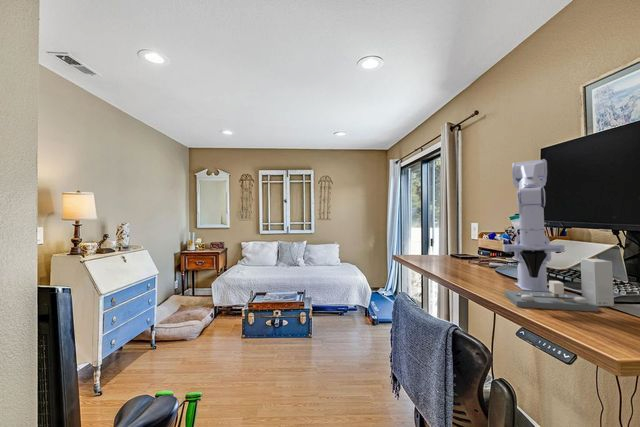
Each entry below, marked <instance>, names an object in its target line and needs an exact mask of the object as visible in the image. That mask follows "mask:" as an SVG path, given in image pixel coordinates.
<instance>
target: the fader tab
mask: <svg viewBox="0 0 640 427" xmlns="http://www.w3.org/2000/svg"><path fill="white" fill-rule="evenodd" d="M564 287H565V284H564V283H563V282H562V281H559V280H548V288H549V291H550V292H552V293H554V297H559V294H564V293H565V289H564Z"/></svg>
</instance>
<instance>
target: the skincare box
mask: <svg viewBox="0 0 640 427" xmlns="http://www.w3.org/2000/svg"><path fill="white" fill-rule="evenodd" d="M613 276H614V274H613V262H612V261H611V260H605V259H599V258H580V278H581V279H580V280H581V282H580V284H581V297H583V298H587V299H588V301H590V302H592V303H594V304H596V305H598V306H599V307H615V300H614V298H615V297H614V296H615V295H614V277H613Z"/></svg>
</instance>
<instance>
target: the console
mask: <svg viewBox="0 0 640 427" xmlns="http://www.w3.org/2000/svg"><path fill="white" fill-rule="evenodd" d="M503 292H504V293H503V294H504V296H505V297H506V298H507V299H508V300H509V301H510V303H512V304H513V305H514V306H516V307H517V308H528V309H529V308H531V309H545V310H546V309H550V310H562V311H563V310H566V311H567V310H568V311H583V312H584V311H585V312H600V311H599V310H600V308H599V307H600V306H598V305H596V304H594V303H592V302H590V301H588V299H587V298H583V297H582V295H578V294H577V293H574V292H564V294H559V297H554V293H552V292H542V291H524V290H506V289H505V290H504V291H503Z"/></svg>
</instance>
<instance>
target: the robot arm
mask: <svg viewBox="0 0 640 427" xmlns="http://www.w3.org/2000/svg"><path fill="white" fill-rule="evenodd" d="M511 165H512V166H511V168H512V170H511V172H512V173H511V174H512V180H513V181H512V182H513V186H514V188H516V189H518V190H517V191H516V204H517V209H518V214H519V216H518V217H519V219H518V220H519V234H517V235H516V236H515V238H514V243H513V244H502V251H503V252H505V253H509V252H511V253H512V252H514V259H516V261H518V262H519V263H518V264H517V267H516V269H517V282H514V285H515V286H517V287H518V288H520V289H521V291H531V292H550V291H549V287H548V281H547V280H548V276H547V263H549V262H550V261H552V252H553V253H554V252H555V253H557V252H558V253H565V245H564V244H554V243H553V244H551V241H550V240H551V239H549V237H548V236H547V235H545V215H544V214H545V212H544V208H545V206H546V191H545V187H544V186H546V183H547V177H548V162H547V160H546V159H545V158H543V159H538V160H537V159H535V160H527V161H518V162H516V161H514V162H513V163H512V164H511Z"/></svg>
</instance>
